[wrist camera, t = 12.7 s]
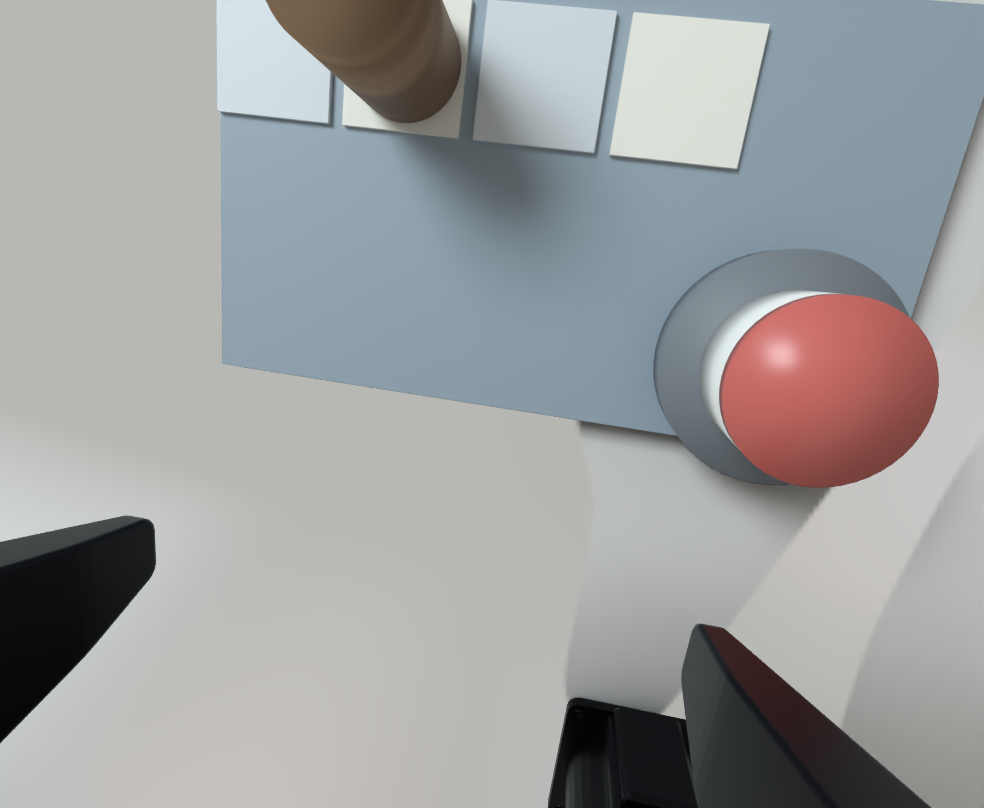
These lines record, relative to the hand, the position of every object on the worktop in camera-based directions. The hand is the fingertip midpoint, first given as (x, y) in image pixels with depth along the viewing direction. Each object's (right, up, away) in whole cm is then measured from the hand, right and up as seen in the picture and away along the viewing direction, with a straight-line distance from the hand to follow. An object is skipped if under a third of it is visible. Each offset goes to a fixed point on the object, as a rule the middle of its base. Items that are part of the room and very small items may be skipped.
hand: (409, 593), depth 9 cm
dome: (+11, +4, +8) cm, 14 cm away
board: (+4, +10, +11) cm, 15 cm away
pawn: (-1, +14, +9) cm, 17 cm away
